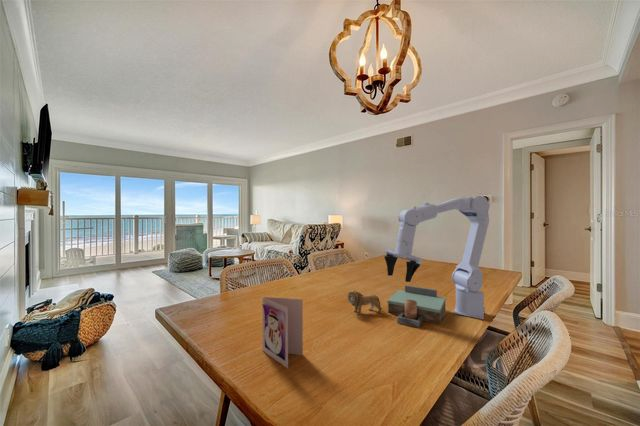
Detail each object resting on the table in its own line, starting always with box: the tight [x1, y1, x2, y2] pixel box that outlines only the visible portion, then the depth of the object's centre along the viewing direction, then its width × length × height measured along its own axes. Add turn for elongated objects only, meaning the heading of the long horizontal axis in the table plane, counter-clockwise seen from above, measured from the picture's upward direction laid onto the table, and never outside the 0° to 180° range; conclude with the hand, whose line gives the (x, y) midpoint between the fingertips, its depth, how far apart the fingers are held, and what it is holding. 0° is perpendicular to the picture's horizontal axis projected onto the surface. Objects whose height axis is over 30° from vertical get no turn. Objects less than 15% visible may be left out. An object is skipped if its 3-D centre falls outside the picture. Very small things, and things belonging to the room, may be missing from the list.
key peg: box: [405, 300, 417, 320], centre depth 90 cm, size 4×4×7 cm
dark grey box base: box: [387, 301, 446, 329], centre depth 96 cm, size 18×21×4 cm
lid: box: [387, 285, 446, 313], centre depth 99 cm, size 18×15×4 cm
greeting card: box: [261, 296, 304, 369], centre depth 70 cm, size 11×7×15 cm, turn 45°
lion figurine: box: [347, 289, 383, 316], centre depth 99 cm, size 15×5×9 cm, turn 108°
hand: (398, 278), depth 95 cm, fingers open, 7 cm apart
